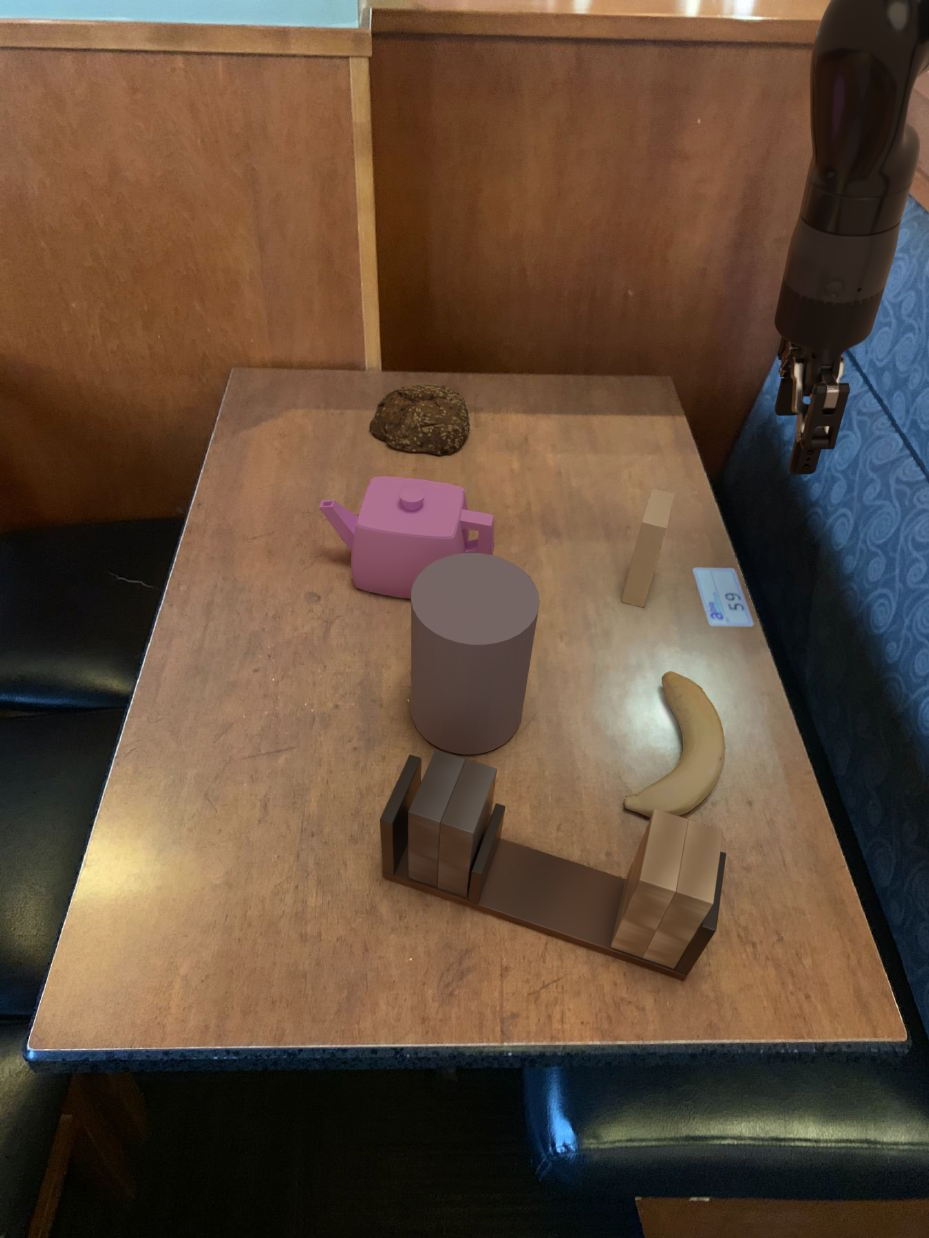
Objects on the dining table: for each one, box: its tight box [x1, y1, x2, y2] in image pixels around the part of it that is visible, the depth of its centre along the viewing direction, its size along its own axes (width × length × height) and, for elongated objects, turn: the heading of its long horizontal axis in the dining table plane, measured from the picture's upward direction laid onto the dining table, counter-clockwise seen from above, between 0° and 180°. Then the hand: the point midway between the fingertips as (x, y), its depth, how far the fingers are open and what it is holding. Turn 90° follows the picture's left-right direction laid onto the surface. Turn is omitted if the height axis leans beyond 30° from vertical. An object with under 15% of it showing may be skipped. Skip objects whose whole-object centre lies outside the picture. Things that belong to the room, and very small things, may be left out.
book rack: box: [379, 749, 727, 982], centre depth 62 cm, size 24×6×12 cm, turn 71°
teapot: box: [318, 475, 495, 600], centre depth 88 cm, size 18×10×10 cm, turn 82°
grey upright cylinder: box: [410, 553, 541, 755], centre depth 73 cm, size 10×10×15 cm
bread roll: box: [368, 383, 471, 456], centre depth 107 cm, size 13×12×5 cm
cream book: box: [620, 487, 676, 608], centre depth 87 cm, size 2×6×11 cm, turn 162°
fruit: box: [623, 670, 726, 819], centre depth 75 cm, size 7×15×3 cm, turn 158°
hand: (793, 441), depth 78 cm, fingers open, 8 cm apart
